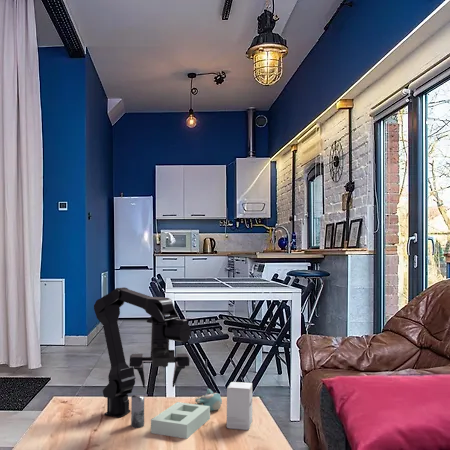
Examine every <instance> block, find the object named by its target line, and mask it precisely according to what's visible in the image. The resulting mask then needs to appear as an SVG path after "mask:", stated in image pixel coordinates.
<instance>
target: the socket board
mask: <svg viewBox="0 0 450 450" xmlns="http://www.w3.org/2000/svg"><path fill="white" fill-rule="evenodd" d="M196 404H197V403H196ZM196 404H195V403H194V404H193V403H189V402H187V403H186V402H180V401H179V402H178V401H177V402H175V403H173V404H172V405H171V406H169V407H168V408H166V409H165V410H163V411H162V412H160V413H159V414H157V415H156V416H154V417H153V418H151V419H150V434H154V435H155V434H156V435H159V436H160V435H161V436H165V437H166V436H167V437H174V438H181V439H184V440H185V439H186V440H187V439H188V438H189V437H191V436H192V435H193V434H194V433H195V432H197V431H198V430H199V429H201V427H202V426H204V425H205V424H206V423H207V422H208V421H209V420H210V419H211V410H210V406H204V405H203V404H198V405H196Z"/></svg>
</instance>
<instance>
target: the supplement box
mask: <svg viewBox="0 0 450 450" xmlns="http://www.w3.org/2000/svg"><path fill="white" fill-rule="evenodd" d="M252 423H253V382H241V381H240V382H239V381H231V382H230V383H229V385H228V386H227V388H226V429H232V430H233V429H234V430H242V431H243V430H245V431H249V430H250V429H251V425H252Z"/></svg>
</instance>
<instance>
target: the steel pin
mask: <svg viewBox="0 0 450 450" xmlns="http://www.w3.org/2000/svg"><path fill="white" fill-rule="evenodd" d="M130 405H131V406H130V407H131V408H130V413H131V414H130V416H131V417H130V421H131V422H130V425H131V428H134V429H139V428H140V429H141V428H143V427H145V395H144V394H134V395H132V396H131V404H130Z"/></svg>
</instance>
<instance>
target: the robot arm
mask: <svg viewBox="0 0 450 450" xmlns="http://www.w3.org/2000/svg"><path fill="white" fill-rule="evenodd" d="M125 303H127V304H129V305H133V306H135V307H138V308H141V309H143V310H144V311H145V313H147V314H148V315H149V316H150V317H149V318H148V319H147V320H146V323H149V324H151V333H150V334H151V335H150V336H151V337H150V338H151V340H150V356H143V355H144V354H143V353H131V355H129V363H128V364H129V365H128V364H127V362H126V357H125V353H124V348H123V343H122V337H121V334H120V328H119V327H120V326H119V324H118V323H119V322H118V321H119V317H120V313H121V309H120V308H121V307H122V306H123V305H125ZM93 310H94V313H95V317H96V319H97V321H99V323H100V324H101V325H102V329H103V333H104V337H105V343H106V347H107V353H108V356H109V357H108V358H109V362H110V363H109V364H110V370H109V373H108V376H107V379H108V383H107V385H106V386H105V388H103V389H102V396H103V398H106V403H107V404H106V409H107V410H106V412H105V413H103V414H104V416H107V417H108V416H109V417H115V418H122V417H124V416H125V415H127V414H129V413H131V409H130V399H129V394H132V392H133V389H134V386H135V384H136V378H137V377H136V375H135V370H137V373H138V374H139V377H140V381H141V384H142V388H145V387H146V380H145V368H144V364H152V367H153V368H158V367H160V368H161V367H163V368H167V367H168V366H169V364H170V363H173V364H174V368H173V378H172V388H174V387H175V386H176V382H177V379H178V377H179V375H180V372H181V371H182V370H183V369H185V368H186V367H189V366H190V363H191V362H190V361H191V360H190V356H189V354H188V353H187V352H185V353H182V352H181V353H176V351H175V349H170V341H176V342H180V343H186V342H188V341H189V340H190V338H191V336H192V329H191V326H190V324H188V319H185V318H184V319H183V318H182V319H180V315H179V313H178V311H177V310H176V308H175V306H174V303H173V300H172V299H171V298H169V297H163V296H162V297H161V296H150V295H147V294H144V293H141V292H139V291H135V290H132V289H129V288H128V287H126V286H125V287H116V288H114V289H113V290H111V292H108V293H107V294H106V295H104V296H102V297H100V298H98V299H97V300H96V301H95V303H94V304H93ZM175 353H176V354H175ZM145 389H146V388H145Z"/></svg>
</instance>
